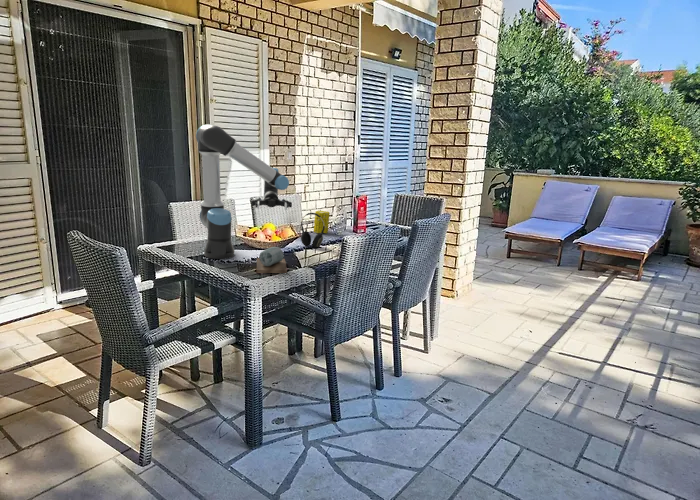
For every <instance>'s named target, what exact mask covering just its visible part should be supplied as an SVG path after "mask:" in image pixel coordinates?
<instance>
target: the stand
mask: <svg viewBox="0 0 700 500" xmlns="http://www.w3.org/2000/svg"><path fill="white" fill-rule="evenodd" d="M287 269H288V268H287V262H286V259H285V258H283V260H282V261H280V262H278V263H275V264H272V265H271V266H267V267H266V266H264V265H263V264H262V263H261V261H260V257H256V274H257V273H287V274H288V270H287Z"/></svg>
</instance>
